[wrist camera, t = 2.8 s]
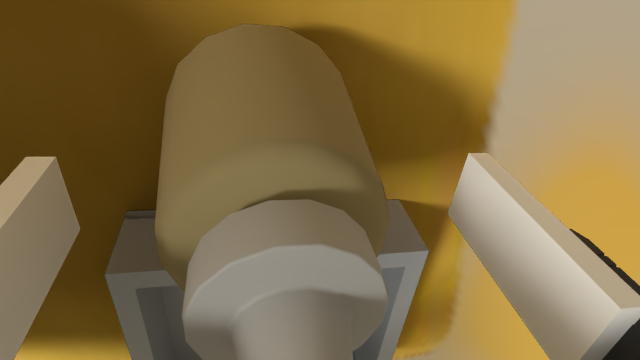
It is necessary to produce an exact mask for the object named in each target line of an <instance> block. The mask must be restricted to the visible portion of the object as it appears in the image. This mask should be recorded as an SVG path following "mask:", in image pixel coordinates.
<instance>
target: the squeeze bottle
mask: <svg viewBox="0 0 640 360" xmlns="http://www.w3.org/2000/svg"><path fill="white" fill-rule="evenodd" d="M390 220H391V218H390V213H389V209H388V205H387V201H386V197H385V192H384V188H383V185H382V182H381V179H380V177H379V174H378V171H377V169H376V166H375V163H374V161H373V158H372V155H371V153H370V150H369V147H368V145H367V142H366V139H365V137H364V134H363V131H362V129H361V126H360V123H359V121H358V118H357V115H356V113H355V110H354V107H353V105H352V102H351V99H350V97H349V94H348V91H347V89H346V86H345V83H344V81H343V78H342V75H341V73H340V71H339V70H338V69H337V67H336V66H335V65H334V64H333V62H332V61H331V60H330V59H329V57H328V56H327V55H326V54H325V52H324V51H323V50H322V49H321V48H320V46H319V45H318V44H316V43H314V42H313V41H311V40H309V39H307V38H305V37H303V36H301V35H299V34H297V33H295V32H293V31H291V30H289V29H287V28H286V27H284V26H269V25H255V24H241V25H238V26H235V27H232V28H230V29H227V30H224V31H221V32H219V33H216V34H213V35H210V36H207V37H205V38H204V39H203V40H202V41H201V42H200V43H199V44H198V45H197V46H196V47H195V48H194V49H193V50H192V51H191V52H190V53H189V54H188V55H187V56H186V57H185V58H184V59H183V60H182V61H181V62H180V63H179V64H178V65H177V68H176V70H175V73H174V76H173V79H172V82H171V85H170V88H169V91H168V93H167V96H166V101H165V113H164V124H163V136H162V147H161V159H160V170H159V182H158V193H157V205H156V216H155V228H154V229H155V235H156V240H157V246H158V252H159V258H160V263H161V265H162V266H163V267H164V269H165V270H166V271H167V272H168V274H169V275H170V276H171V277H172V278H173V280H174V281H175V282H176V283H177V284H178V286H179V287H180V288H181V289H182V290H183V292H185V295H184V303H183V311H182V319H183V326H184V333H185V340H186V342H187V343H188V344H189V345H190V346H191V348H192V349H193V350H194V351H195V352H196V353H197V354H198V355H199V356H200V357H201V358H202V359H203V360H353V351H354V350H356V349H357V348H359V347H361V346H362V345H363V344H364V343H365V342H366V340H367V339H368V338H369V337H370V336H371V335H372V334H373V332H374V331H375V330H376V329H377V328H378V327H379V326H380V324H381V323H382V320H383V317H384V314H385V311H386V308H387V304H388V301H389V298H390V296H389V292H388V289H387V285H386V282H385V278H384V275H383V272H382V270H381V267H380V265H379V262H378V260H377V257H378V255H379V254H380V253H381V252H382V249H383V246H384V242H385V238H386V235H387V231H388V227H389V223H390Z"/></svg>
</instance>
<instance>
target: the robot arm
mask: <svg viewBox="0 0 640 360" xmlns="http://www.w3.org/2000/svg"><path fill="white" fill-rule="evenodd" d="M447 214H448V215H449V217H450V218H451V220H452V221H453V222H454V224H455V225H456V227H457V228H458V230H459V231H460V232H461V234H462V235H463V237H464V238H465V240H466V241H467V242H468V244H469V245H470V247H471V248H472V249H473V251H474V252H475V254H476V255H477V257H478V258H479V259H480V261H481V262H482V264H483V265H484V267H485V268H486V269H487V271H488V272H489V273H490V275H491V276H492V278H493V279H494V281H495V282H496V284H497V285H498V286H499V288H500V289H501V291H502V292H503V293H504V295H505V296H506V298H507V299H508V301H509V302H510V303H511V305H512V306H513V308H514V309H515V311H516V312H517V313H518V315H519V316H520V318H521V319H522V320H523V322H524V323H525V325H526V326H527V328H528V329H529V330H530V332H531V333H532V335H533V336H534V337H535V339H536V340H537V342H538V343H539V345H540V346H541V347H542V349H543V350H544V352H545V353H546V354H547V356H548V357H549V358H550V360H640V286H639V285H638V284H637V283H636V282H635V281H634V280H632V279H631V278H630V277H629V276H628V275H627V274H626V273H625V272H624V271H623V270H622V269H620V268H617V267H616V264H615V263H614V262H613V261H611V259H610V258H608V257H607V256H604V253H603V252H602V251H601V250H600V249H599V248H598V247H596V246H595V245H594V244H593V243H592V242H591V241H590V240H589V239H587V238H585V237H584V236H582V235H580V234H579V233H577V232H575V231H574V230H572V229H568V228H567V227H566V226H565V225H564V224H563V223H562V222H561V221H560V220H559V219H558V218H557V217H556V216H554V215H553V214H552V213H551V212H550V211H549V210H548V209H547V208H546V207H545V206H544V205H543V204H542V203H541V202H540V201H539V200H537V199H536V198H535V197H534V196H533V195H532V194H531V193H530V192H529V191H528V190H527V189H526V188H525V187H524V186H523V185H522V184H521V183H519V182H518V181H517V180H516V179H515V178H514V177H513V176H512V175H511V174H510V173H509V172H508V171H507V170H506V169H504V167H503V166H501V165H500V164H499V163H498V162H497V161H496V160H495V159H494V158H493V157H492V156H491V155H490V154H489V153H469V154H468V156H467V159H466V162H465V165H464V168H463V171H462V173H461V176H460V179H459V182H458V185H457V188H456V191H455V193H454V196H453V199H452V202H451V205H450V208H449V210H448V213H447ZM79 231H80V226H79V223H78V220H77V217H76V214H75V211H74V209H73V206H72V203H71V200H70V197H69V194H68V191H67V188H66V185H65V182H64V179H63V176H62V173H61V170H60V167H59V164H58V161H57V158H56V157H25V158H24V160H23V161H22V162H21V163H20V164H19V165H18V166H17V167H16V168H15V170H14V171H13V172H12V173H11V174H10V175H9V176H8V177H7V179H6V180H5V181H4V182H3V183H2V184H1V185H0V360H14V358H15V356H16V354H17V352H18V351H19V349H20V347H21V345H22V343H23V341H24V339H25V337H26V335H27V333H28V331H29V329H30V327H31V325H32V323H33V321H34V319H35V317H36V315H37V313H38V311H39V309H40V307H41V306H42V304H43V302H44V300H45V298H46V296H47V294H48V292H49V290H50V288H51V286H52V284H53V282H54V280H55V278H56V276H57V274H58V272H59V270H60V268H61V266H62V264H63V262H64V261H65V259H66V257H67V255H68V253H69V251H70V249H71V247H72V245H73V243H74V241H75V239H76V237H77V235H78V233H79Z"/></svg>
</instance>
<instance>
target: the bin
mask: <svg viewBox="0 0 640 360" xmlns="http://www.w3.org/2000/svg"><path fill="white" fill-rule="evenodd" d="M386 201H387V205H388V209H389V213H390V218H391V220H390V223H389V227H388V231H387V235H386V238H385V242H384V246H383V249H382V252H381V253H380V254H379V255H378V257H377V260H378V262H379V265H380V267H381V270H382V272H383V275H384V278H385V282H386V285H387V289H388V292H389V296H390V298H389V301H388V304H387V308H386V311H385V314H384V317H383V320H382V323H381V324H380V326H379V327H378V328H377V329H376V330H375V331H374V332H373V334H372V335H371V336H370V337H369V338H368V339H367V340H366V342H365V343H364V344H363V345H362V346H361V347H359V348H357V349H356V350H354V351H353V360H392V358H393V355H394V352H395V349H396V346H397V343H398V340H399V337H400V334H401V331H402V329H403V326H404V323H405V320H406V317H407V314H408V311H409V308H410V305H411V302H412V299H413V296H414V293H415V291H416V288H417V285H418V282H419V279H420V276H421V273H422V270H423V267H424V264H425V261H426V258H427V255H428V253H429V250H428V248H427V246H426V244H425V243H424V241H423V239H422V238H421V236H420V234H419V233H418V231H417V229H416V228H415V226H414V224H413V222H412V221H411V219H410V217H409V216H408V214H407V212H406V211H405V209H404V207H403V206H402V204H401V202H400V200H386ZM155 216H156V210H143V211H127V213H126V216H125V218H124V221H123V224H122V227H121V230H120V232H119V235H118V238H117V241H116V243H115V246H114V249H113V252H112V255H111V257H110V260H109V263H108V266H107V269H106V271H105V274H104V275H105V278H106V281H107V284H108V287H109V291H110V294H111V297H112V300H113V303H114V306H115V309H116V312H117V315H118V319H119V322H120V325H121V328H122V331H123V334H124V337H125V340H126V344H127V347H128V350H129V353H130V356H131V359H132V360H203V359H202V358H201V357H200V356H199V355H198V354H197V353H196V352H195V351H194V350H193V349H192V348H191V346H190V345H189V344H188V343H187V342H186V340H185V333H184V326H183V319H182V311H183V303H184V295H185V292H183V290H182V289H181V288H180V287H179V286H178V284H177V283H176V282H175V281H174V280H173V278H172V277H171V276H170V275H169V274H168V272H167V271H166V270H165V269H164V267H163V266H162V265H161V263H160V258H159V252H158V246H157V240H156V235H155V229H154V228H155Z"/></svg>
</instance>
